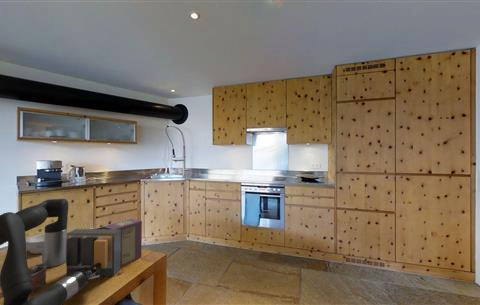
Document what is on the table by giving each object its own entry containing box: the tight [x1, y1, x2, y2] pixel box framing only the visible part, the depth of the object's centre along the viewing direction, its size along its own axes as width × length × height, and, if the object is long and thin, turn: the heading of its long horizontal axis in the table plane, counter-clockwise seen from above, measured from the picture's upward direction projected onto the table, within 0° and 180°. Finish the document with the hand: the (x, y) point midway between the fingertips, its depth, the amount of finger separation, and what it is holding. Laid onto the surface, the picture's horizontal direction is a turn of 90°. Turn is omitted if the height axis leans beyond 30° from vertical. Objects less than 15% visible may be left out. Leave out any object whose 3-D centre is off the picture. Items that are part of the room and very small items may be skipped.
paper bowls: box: [26, 233, 45, 255], centre depth 140 cm, size 15×15×8 cm
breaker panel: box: [65, 228, 121, 277], centre depth 113 cm, size 22×8×20 cm, turn 90°
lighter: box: [29, 262, 48, 295], centre depth 101 cm, size 8×3×10 cm, turn 5°
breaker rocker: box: [94, 240, 108, 268], centre depth 108 cm, size 5×3×12 cm, turn 90°
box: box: [102, 218, 143, 268], centre depth 127 cm, size 17×9×20 cm, turn 153°
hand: (99, 265), depth 106 cm, fingers closed
